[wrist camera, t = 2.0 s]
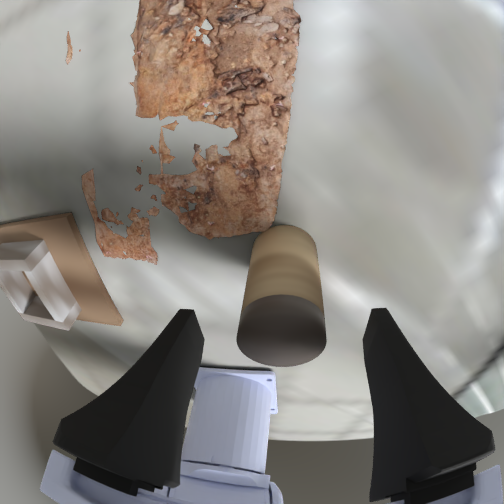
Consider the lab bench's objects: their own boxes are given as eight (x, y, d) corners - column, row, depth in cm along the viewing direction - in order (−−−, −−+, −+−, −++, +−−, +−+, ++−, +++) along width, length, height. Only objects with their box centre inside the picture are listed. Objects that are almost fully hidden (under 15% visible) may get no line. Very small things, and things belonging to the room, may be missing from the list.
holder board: (123, 320, 21) (109, 349, 19) (28, 305, 23) (14, 325, 21) (71, 212, 15) (44, 238, 13) (-16, 228, 17) (-35, 246, 15)
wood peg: (315, 276, 16) (322, 366, 11) (255, 277, 17) (242, 365, 12) (317, 224, 14) (330, 313, 9) (249, 226, 15) (230, 313, 10)
